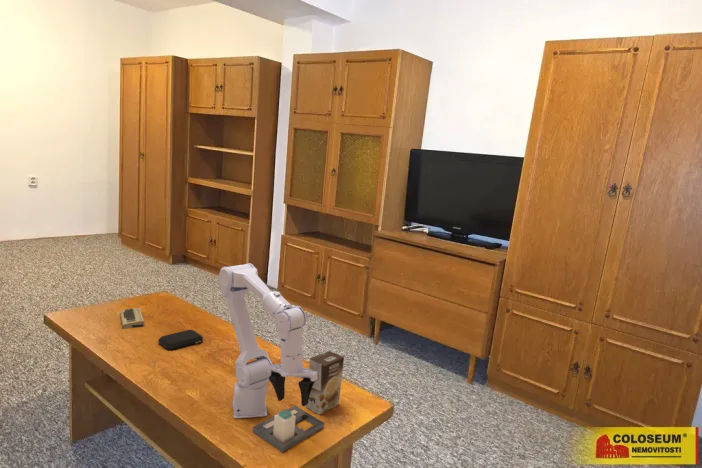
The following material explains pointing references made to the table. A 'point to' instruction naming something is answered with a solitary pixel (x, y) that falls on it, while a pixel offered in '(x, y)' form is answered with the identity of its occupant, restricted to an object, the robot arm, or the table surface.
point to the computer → (132, 318)
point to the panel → (267, 430)
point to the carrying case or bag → (180, 339)
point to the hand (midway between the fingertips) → (292, 402)
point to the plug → (284, 426)
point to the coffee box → (325, 381)
